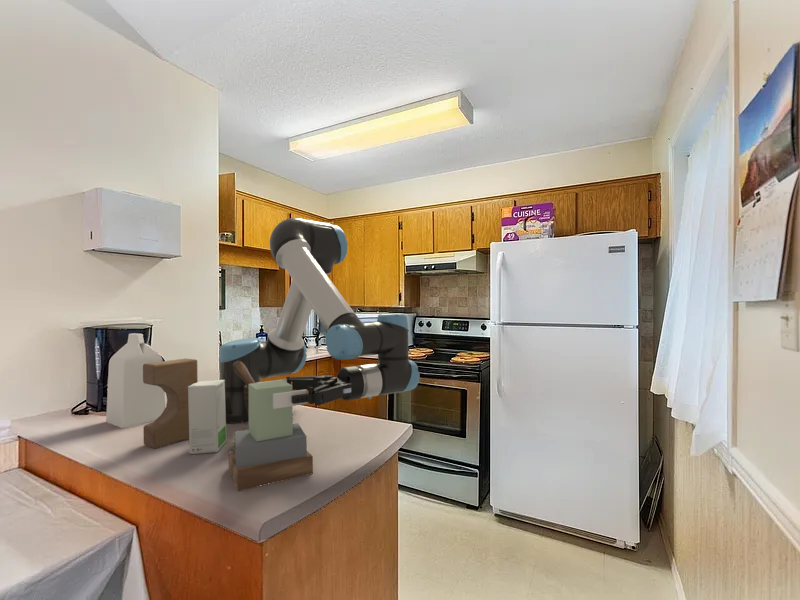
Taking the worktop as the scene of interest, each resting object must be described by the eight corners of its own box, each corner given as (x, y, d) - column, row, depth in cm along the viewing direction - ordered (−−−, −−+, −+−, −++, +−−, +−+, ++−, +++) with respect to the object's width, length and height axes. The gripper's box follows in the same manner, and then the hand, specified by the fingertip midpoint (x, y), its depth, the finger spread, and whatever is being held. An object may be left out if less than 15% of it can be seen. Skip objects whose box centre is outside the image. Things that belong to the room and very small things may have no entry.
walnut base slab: (228, 471, 83) (228, 451, 83) (295, 456, 90) (295, 439, 90) (238, 494, 72) (237, 472, 72) (312, 476, 79) (312, 456, 79)
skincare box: (217, 453, 91) (216, 385, 92) (186, 455, 90) (185, 386, 90) (227, 440, 100) (226, 378, 100) (199, 442, 99) (198, 379, 99)
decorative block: (153, 449, 94) (152, 365, 95) (142, 445, 98) (141, 363, 98) (199, 436, 103) (198, 359, 104) (188, 432, 107) (187, 358, 107)
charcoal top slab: (235, 450, 83) (234, 431, 83) (298, 441, 88) (298, 423, 88) (236, 468, 74) (236, 446, 74) (306, 456, 79) (306, 436, 79)
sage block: (248, 432, 82) (248, 383, 82) (282, 426, 86) (282, 380, 86) (256, 441, 76) (256, 389, 77) (292, 435, 80) (292, 385, 80)
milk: (106, 421, 118) (105, 334, 119) (148, 412, 128) (147, 332, 128) (123, 428, 112) (122, 335, 112) (166, 418, 121) (165, 333, 121)
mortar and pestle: (255, 445, 96) (254, 362, 96) (227, 441, 99) (226, 361, 100) (285, 430, 107) (284, 356, 107) (260, 427, 110) (259, 355, 110)
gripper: (385, 409, 82) (282, 428, 70) (337, 389, 103) (251, 401, 91) (385, 373, 82) (281, 386, 70) (336, 360, 103) (250, 368, 91)
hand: (264, 394), depth 81 cm, fingers open, 13 cm apart
